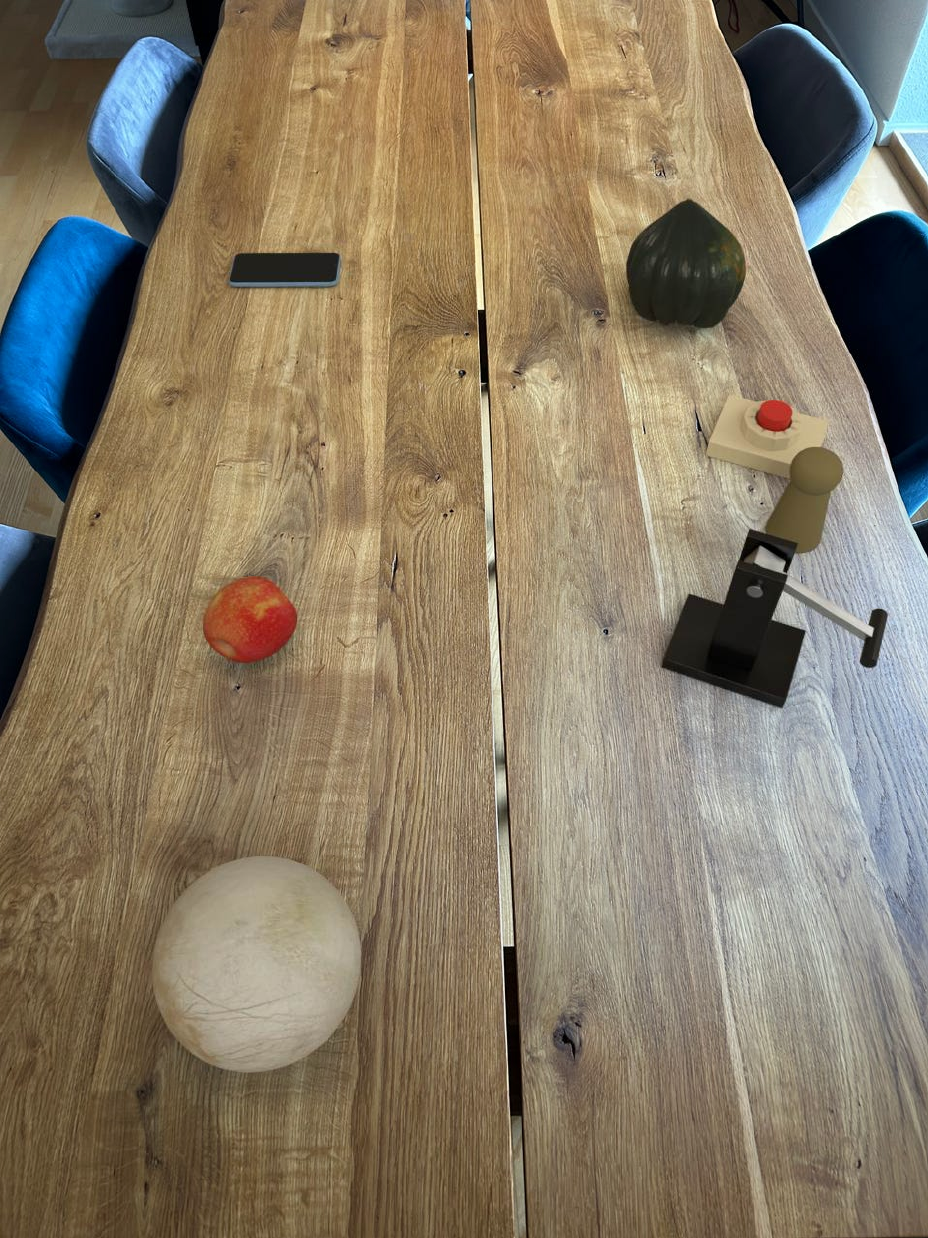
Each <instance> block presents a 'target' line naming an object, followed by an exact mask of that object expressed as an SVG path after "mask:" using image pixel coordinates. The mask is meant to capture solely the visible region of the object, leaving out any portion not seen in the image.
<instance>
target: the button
mask: <svg viewBox="0 0 928 1238" xmlns="http://www.w3.org/2000/svg"><path fill="white" fill-rule="evenodd" d="M764 401H765V402H764V403H762V405H761V406H760V410H759V413H758V417H757V422H758V424H759V426H761V427H762V428H763V429H765V430H769V431H773V432H780V431H784V430H785V429H786V428H787V427H788V426H789V423H790V420H791V417H792V409H791V407H792V406H791V405H789V404H788V403H786V402H785V401H782V400H779V399H767V400H764ZM790 406H791V407H790Z"/></svg>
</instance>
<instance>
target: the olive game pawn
mask: <svg viewBox="0 0 928 1238" xmlns="http://www.w3.org/2000/svg"><path fill="white" fill-rule="evenodd" d="M843 476H844V464H843V461H842V460H841V458H840V456H839V455H838V454H837V453H835V452H834V451H832V450H831V449H828V448H825V447H822V446H821V447H809V448H806V449H804V450H802V451H800V452H799V453H798V454H797V455H796V456H795V457H794V458H793V460H792V463H791V466H790V479H789V480H788V481H789V482H788V484H787V485H786V487H785V488H784V490H783V492H782V493H781V496H780V498H779V499H778V501H777V503H776V505H775V506H774V508H773V509H772V512H771V513H770V515H769V516H768V519H767V521H766V523H765V526H764V530H765V533H766V534H769V535H773V536H776V537H779V538H783V539H786V540H789V541H793V542H796V543H798V546H797V549H796V552H795V554H804V553H805V554H806V553H809V552H812V551H813V550H816V549H817V547H818V546H819V545H820V544H821V541H822V536H823V532H824V528H825V522H826V517H827V514H828V508H829V502H830V498H831V494H832V492H833V491H834V490H835V489H836V488H838V486H839V484H841V481H842V479H843Z"/></svg>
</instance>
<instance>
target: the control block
mask: <svg viewBox="0 0 928 1238" xmlns="http://www.w3.org/2000/svg"><path fill="white" fill-rule="evenodd" d="M765 401H766V400H758V401H755V400H752V399H748V398H743V397H740V396H736V395H732V394H727V397H726V400H725V402H724V404H723V406H722V410H721V411H720V414H719V417H718V419H717V421H716V424H715V426H714V428H713V431H712V433H711V436H710V438H709V440H708V444H707V447H706V451H705V456H706V457H710V458H713V459H716V460H720V461H724V462H728V463H731V464H735V465H738V466H742V467H745V468H748V469H752V470H756V471H759V472H763V473H766V474H770V475H774V476H777V477H781V478H784V479H788V480H791V479H790V466H791V463H792V460H793V458H794V457H795V456H796V455H797V454H798V453H799V452H800V451H802V450H804V449H806V448H809V447H822V446H823V443H824V440H825V437H826V434H827V430H828V429H829V424H830V420H827V419H823V418H819V417H815V416H812V415H808V414H804V413H801V412H799V411H798V410H797V409H795V408H793V406H791V405H789V406H790V407H791V409H792V417H791V420H790V423H789V426H788V427H787V428H786V429H785V430H784V431H780V432H773V431H769V430H765V429H763V428H762V427H761V426H759V424H758V422H757V417H758V413H759V410H760V406H761V405H762V403H764V402H765Z"/></svg>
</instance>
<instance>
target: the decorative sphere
mask: <svg viewBox="0 0 928 1238" xmlns="http://www.w3.org/2000/svg"><path fill="white" fill-rule="evenodd" d="M358 929H359V928H358V925H357V922H356V918H355V916H354V914H353V912H352V910H351V908H350V906H349V905H348V903H347V902H346V900H345V899H344V897H343V896H342V894H341V892H340V891H339V890H338V889H337V888H336V887H335V886H334V885H333V884H332V883H331V882H330V880H328V879H327V878H326V877H324V876H323V875H322V874H320V872H318V871H316V870H315V869H313V868H311V867H309V866H307V864H304V863H301V862H298V861H296V860H292V859H289V858H287V857H280V856H275V855H253V856H247V857H241V858H237V859H234V860H231V861H228V862H225V863H223V864H220V865H218V866H216V867H214V868H212V869H210V870H208V871H207V872H206V873H204V874H203V875H201V876H200V877H199V878H197V879H196V880H194V881H193V882H192V883H191V884H190V885H189V886H187V887H186V888H185V889H184V891H183V892H182V893H181V894H180V896H178V898H177V899H176V900H175V901H174V902H173V904H172V906H171V907H170V909H169V911H168V912H167V913H166V915H165V917H164V920H163V922H162V924H161V926H160V928H159V931H158V934H157V937H156V940H155V943H154V949H153V954H152V961H151V973H152V974H151V976H152V977H151V978H152V980H151V981H152V986H153V992H154V997H155V1001H156V1005H157V1008H158V1010H159V1012H160V1014H161V1017H162V1019H163V1021H164V1023H165V1026H166V1027H167V1028H168V1030H169V1031H170V1033H171V1034H172V1035H173V1037H174V1038H175V1039H176V1041H178V1043H180V1044H181V1046H183V1048H184V1049H186V1050H187V1051H188V1052H190V1054H192V1055H193V1056H195V1057H197V1058H198V1059H200V1060H201V1061H203V1062H204V1063H207V1064H209V1065H210V1066H211V1065H212V1066H214V1067H217V1068H219V1069H222V1070H225V1071H232V1072H239V1073H265V1072H269V1071H274V1070H276V1069H277V1070H278V1069H281V1068H284V1067H286V1066H289V1065H292V1064H295V1063H296V1062H298V1061H300V1060H302V1059H303V1058H305V1057H307V1056H309V1055H310V1054H312V1053H313V1052H315V1051H316V1050H317V1049H318V1048H319V1047H321V1046H322V1045H323V1044H324V1043H325V1042H326V1041H327V1040H328V1039H330V1038H331V1036H333V1034H334V1032H336V1030H337V1028H339V1026H340V1025H341V1023H342V1022H343V1020H344V1019H345V1017H346V1015H347V1014H348V1012H349V1010H350V1008H351V1006H352V1003H353V1001H354V998H355V996H356V993H357V989H358V986H359V982H360V976H361V970H362V951H363V950H362V945H361V938H360V933H359V930H358Z"/></svg>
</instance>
